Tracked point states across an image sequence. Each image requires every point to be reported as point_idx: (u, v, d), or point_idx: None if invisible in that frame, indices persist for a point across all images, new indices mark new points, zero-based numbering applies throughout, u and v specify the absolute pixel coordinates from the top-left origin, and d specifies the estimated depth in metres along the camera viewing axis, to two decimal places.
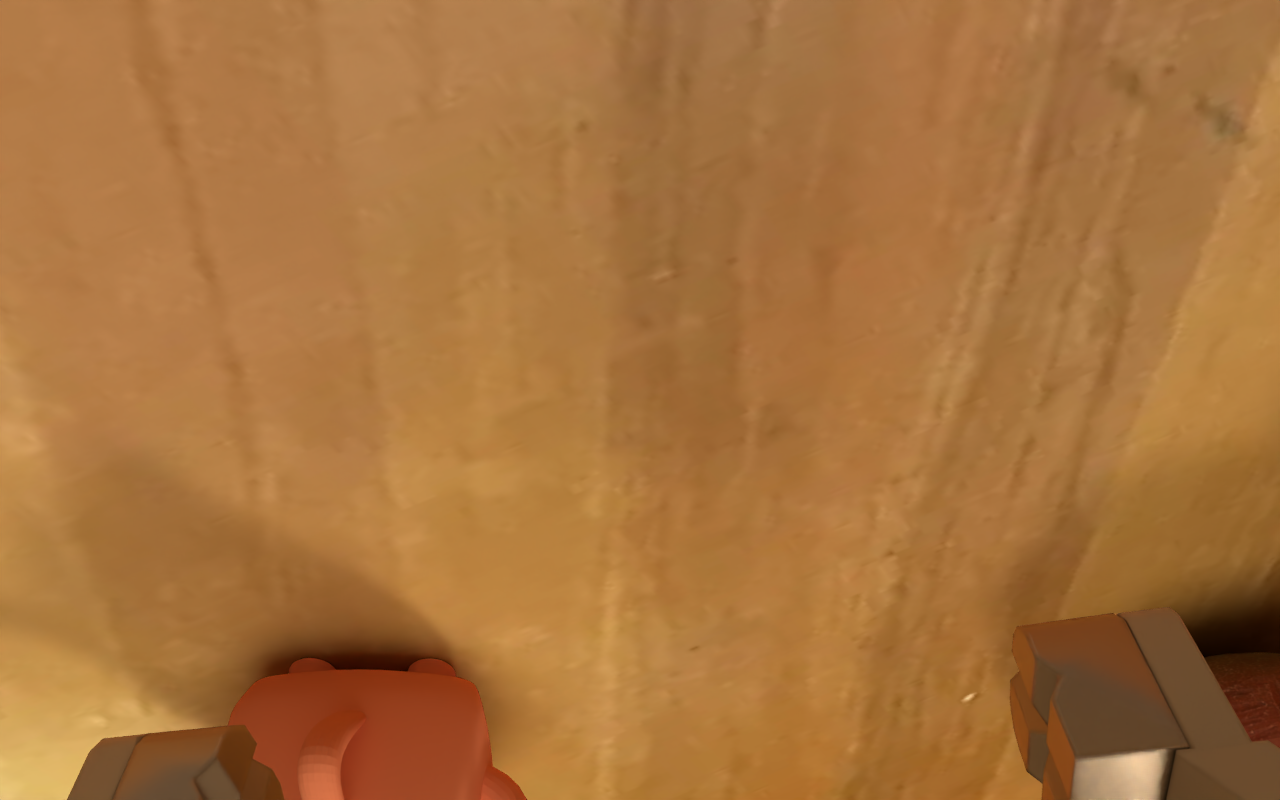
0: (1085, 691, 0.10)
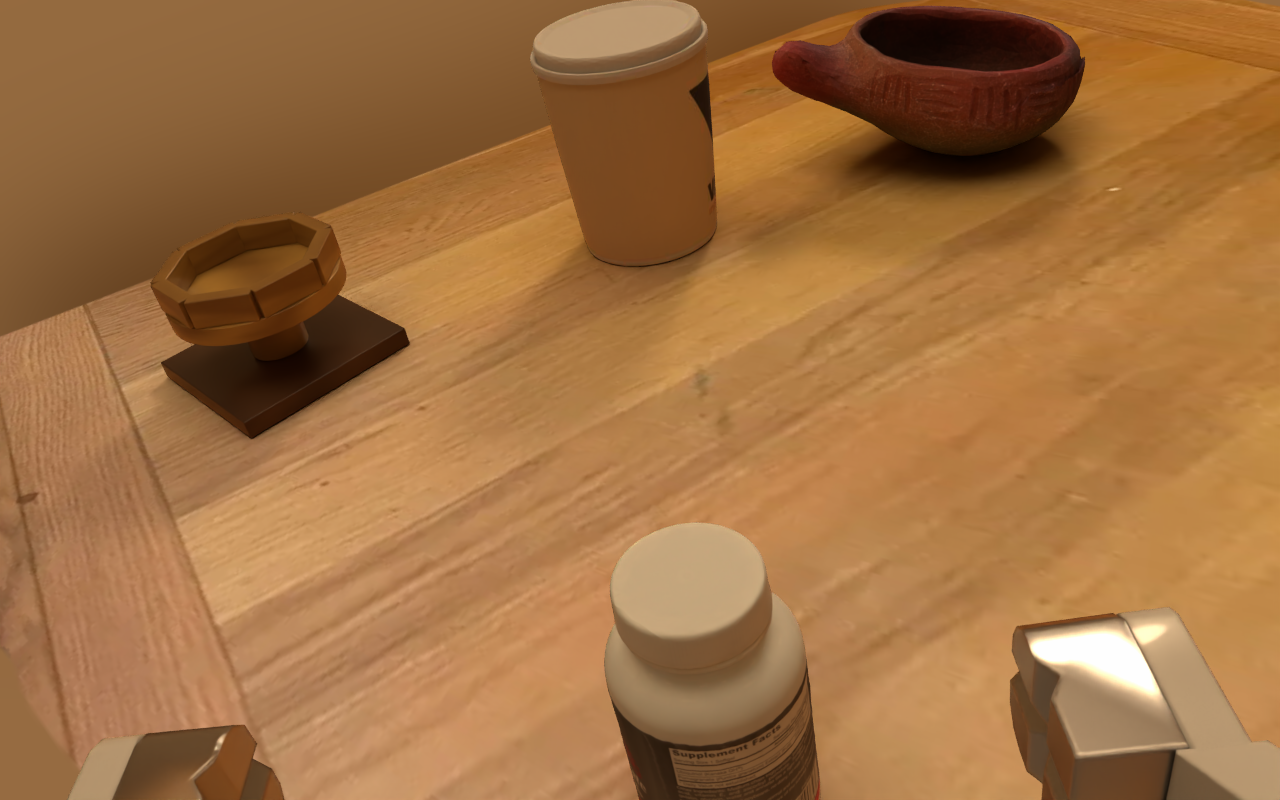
0: (1085, 691, 0.10)
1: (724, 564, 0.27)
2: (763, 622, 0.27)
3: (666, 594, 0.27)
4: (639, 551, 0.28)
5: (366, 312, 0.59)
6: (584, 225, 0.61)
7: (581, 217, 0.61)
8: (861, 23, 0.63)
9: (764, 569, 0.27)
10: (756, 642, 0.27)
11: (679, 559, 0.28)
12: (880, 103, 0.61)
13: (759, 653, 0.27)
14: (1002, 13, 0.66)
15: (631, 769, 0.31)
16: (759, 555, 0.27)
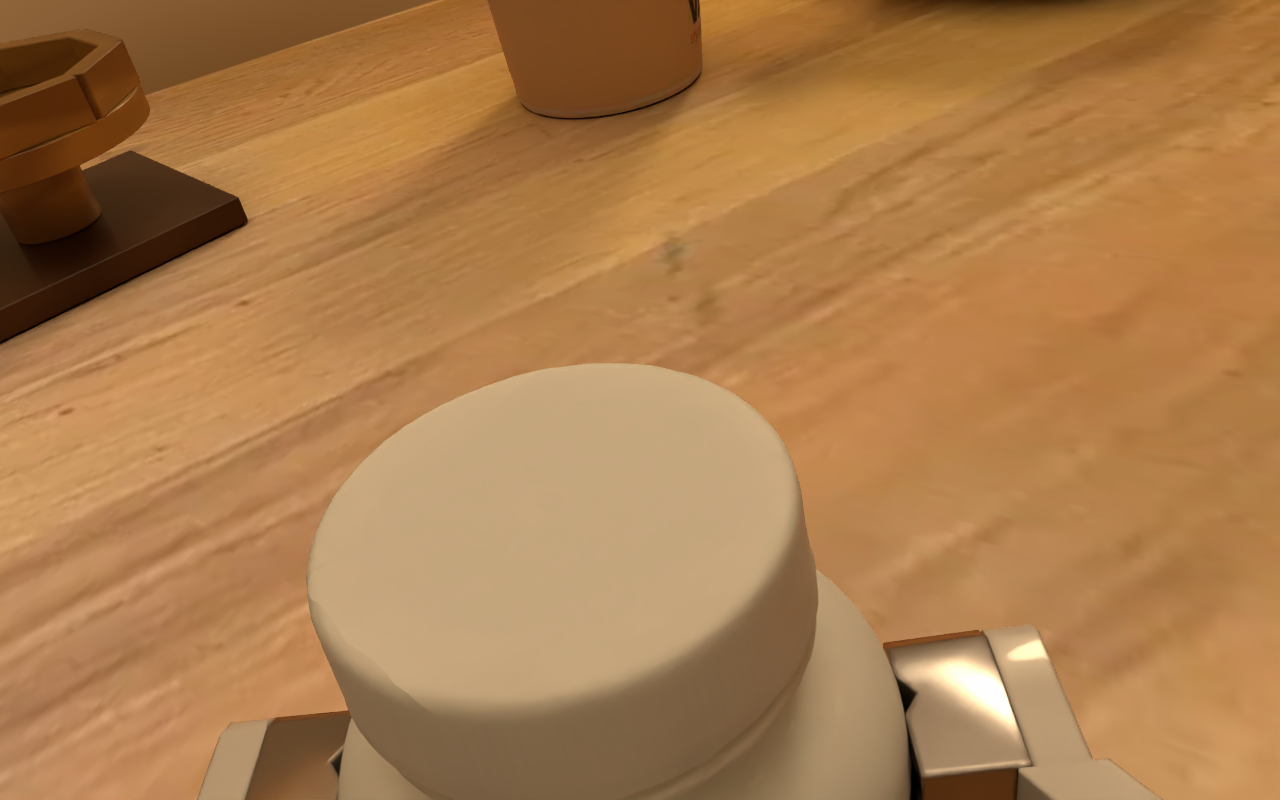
0: (938, 709, 0.10)
1: (667, 467, 0.09)
2: (792, 651, 0.08)
3: (476, 560, 0.08)
4: (422, 439, 0.10)
5: (191, 181, 0.41)
6: (511, 61, 0.42)
7: (506, 48, 0.42)
8: None
9: (794, 480, 0.08)
10: (769, 717, 0.08)
11: (533, 456, 0.09)
12: None
13: (778, 745, 0.09)
14: None
15: None
16: (777, 440, 0.09)
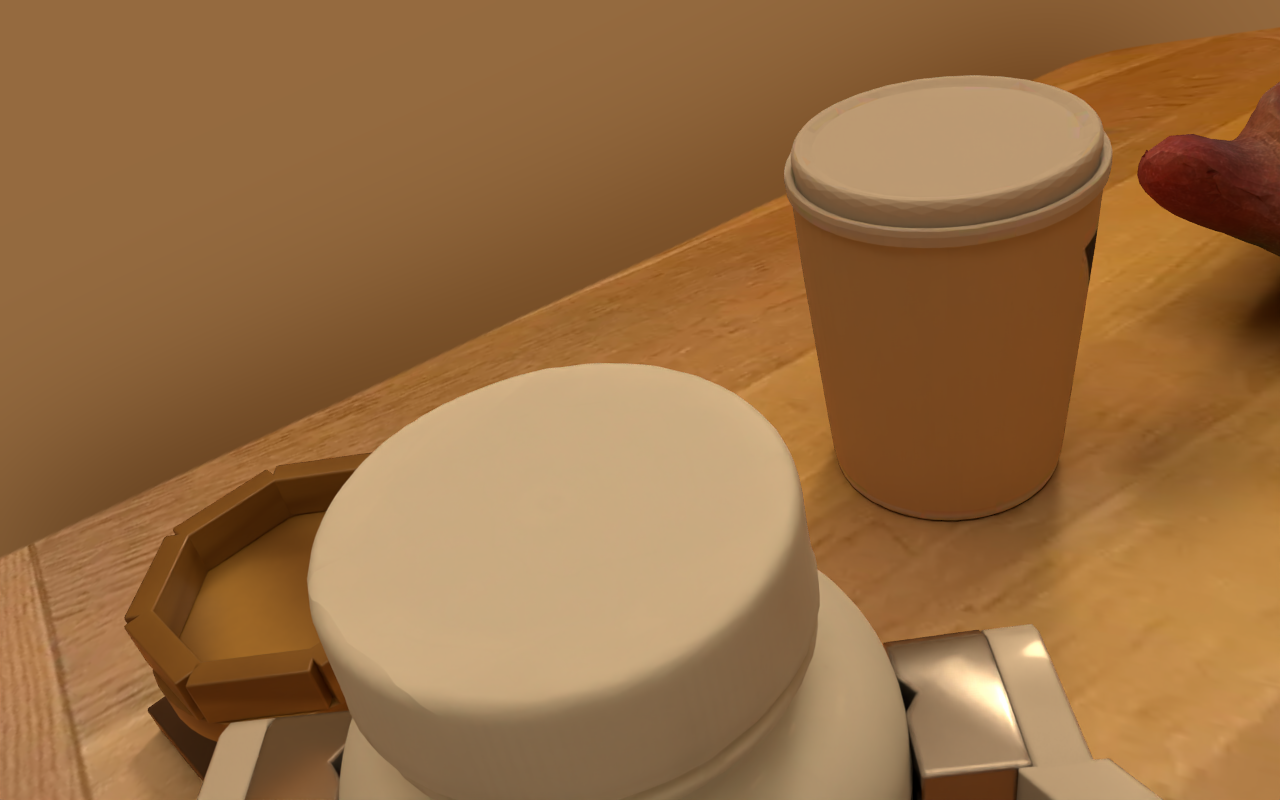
0: (938, 708, 0.10)
1: (669, 468, 0.09)
2: (793, 651, 0.08)
3: (477, 560, 0.08)
4: (423, 439, 0.10)
5: None
6: (852, 450, 0.37)
7: (848, 438, 0.36)
8: None
9: (795, 480, 0.08)
10: (769, 717, 0.08)
11: (534, 456, 0.09)
12: None
13: (780, 747, 0.09)
14: None
15: None
16: (778, 441, 0.09)
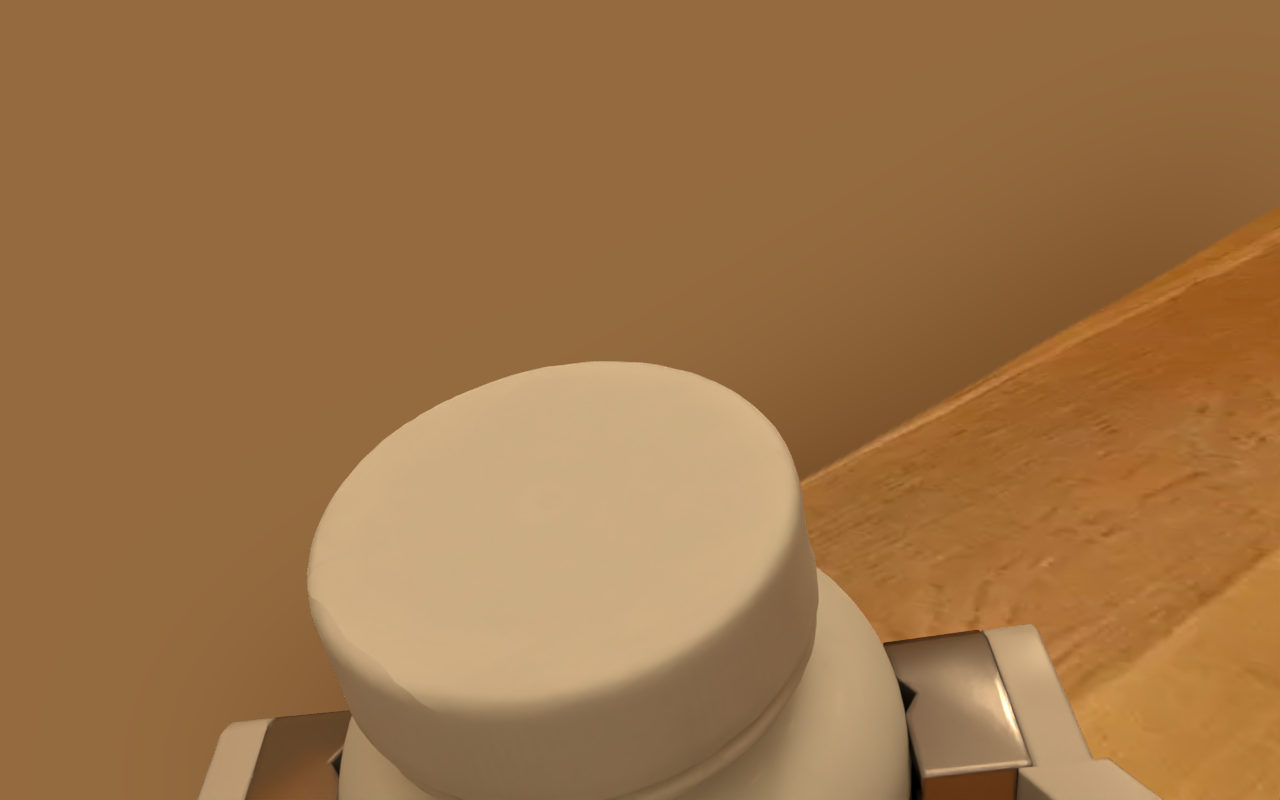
0: (939, 709, 0.10)
1: (668, 466, 0.09)
2: (792, 649, 0.08)
3: (476, 559, 0.08)
4: (423, 437, 0.10)
5: None
6: None
7: None
8: None
9: (794, 478, 0.08)
10: (769, 715, 0.08)
11: (533, 454, 0.09)
12: None
13: (777, 744, 0.09)
14: None
15: None
16: (777, 439, 0.09)
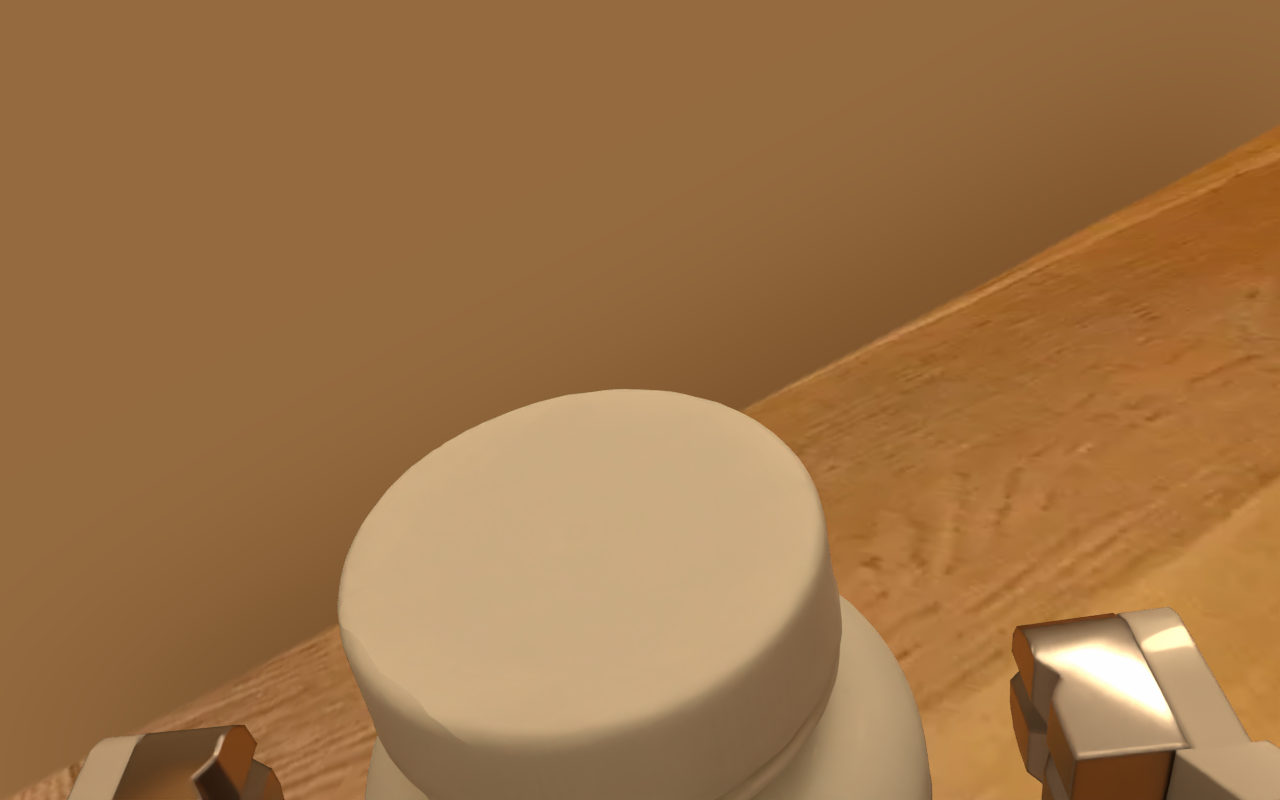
0: (1085, 691, 0.10)
1: (693, 496, 0.09)
2: (817, 679, 0.08)
3: (506, 590, 0.08)
4: (449, 465, 0.10)
5: None
6: None
7: None
8: None
9: (819, 510, 0.09)
10: (793, 744, 0.08)
11: (559, 485, 0.09)
12: None
13: (802, 770, 0.09)
14: None
15: None
16: (801, 469, 0.09)
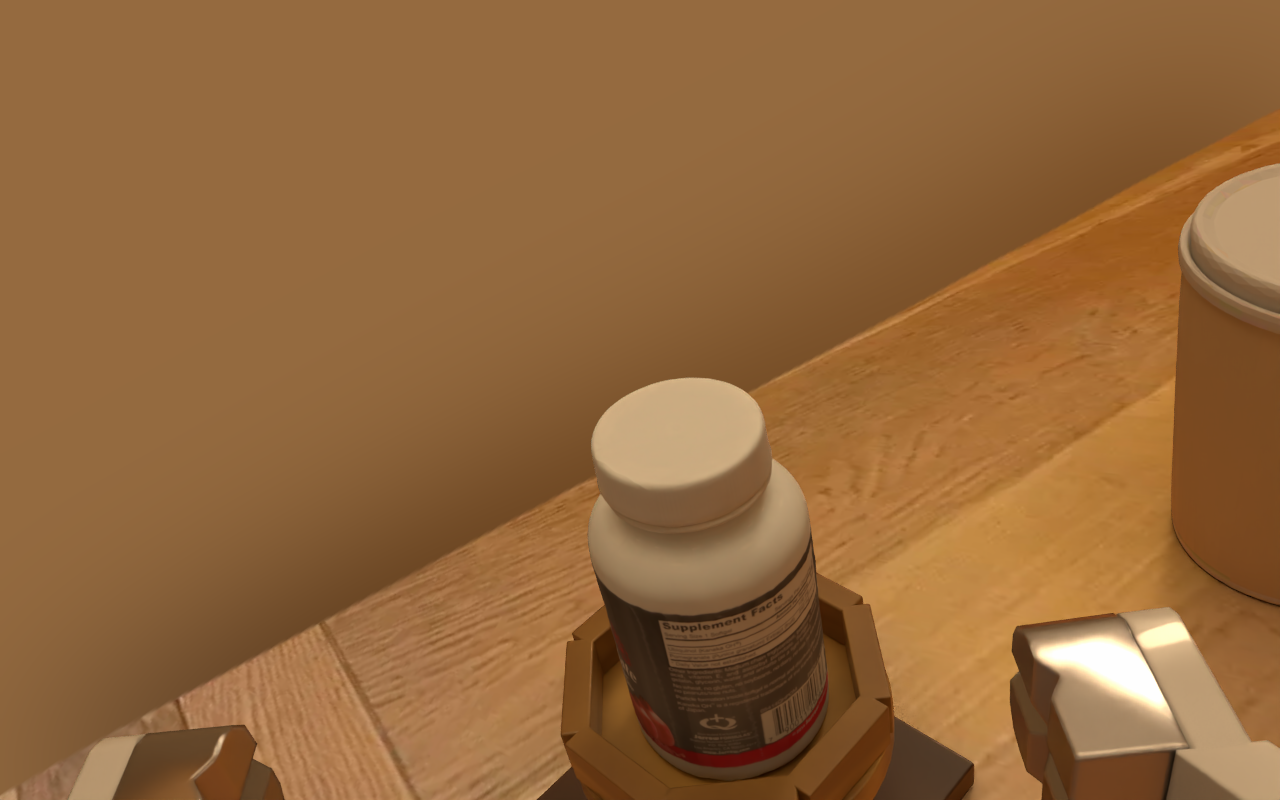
0: (1085, 691, 0.10)
1: (717, 415, 0.25)
2: (761, 476, 0.24)
3: (653, 446, 0.24)
4: (624, 407, 0.25)
5: None
6: (1220, 538, 0.36)
7: (1219, 526, 0.35)
8: None
9: (762, 418, 0.24)
10: (753, 498, 0.24)
11: (667, 413, 0.25)
12: None
13: (758, 514, 0.25)
14: None
15: (620, 659, 0.28)
16: (756, 405, 0.25)
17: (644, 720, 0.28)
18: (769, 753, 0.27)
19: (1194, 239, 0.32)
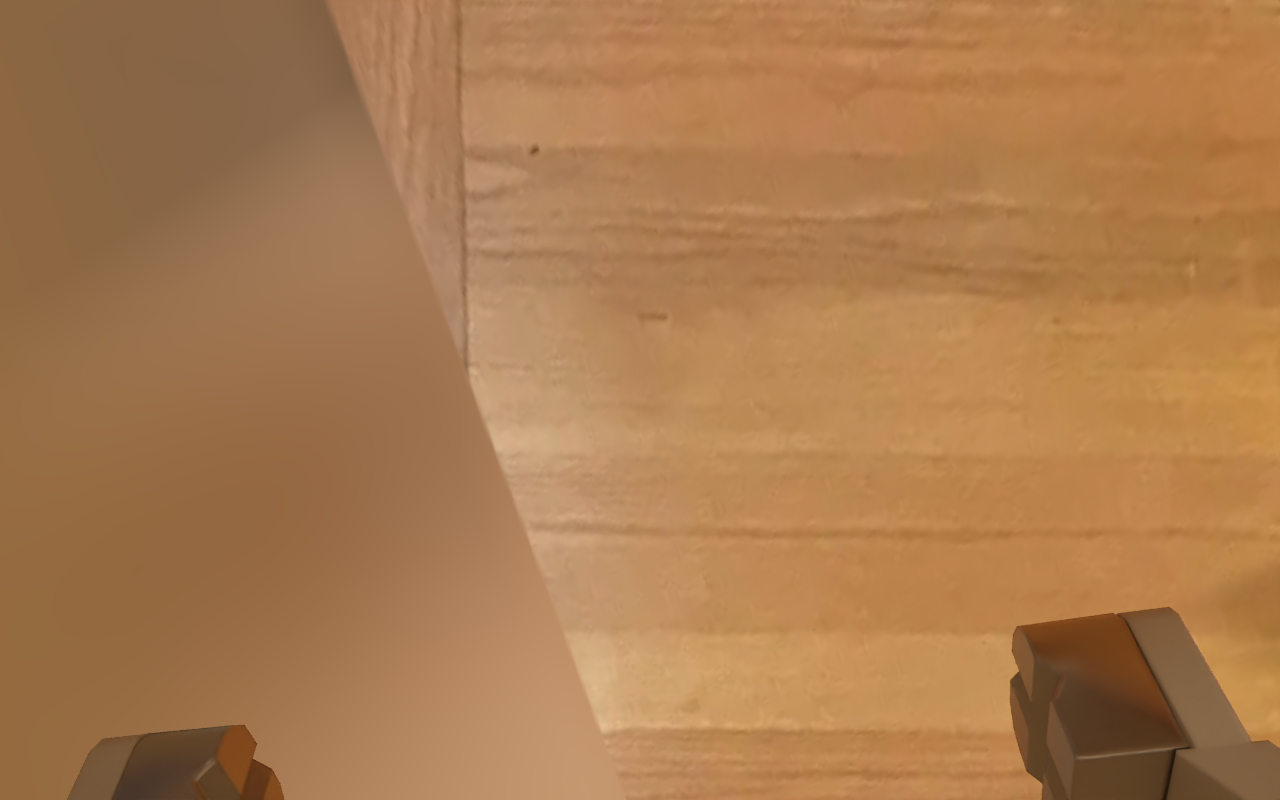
0: (1085, 691, 0.10)
1: None
2: None
3: None
4: None
5: None
6: None
7: None
8: None
9: None
10: None
11: None
12: None
13: None
14: None
15: None
16: None
17: None
18: None
19: None
